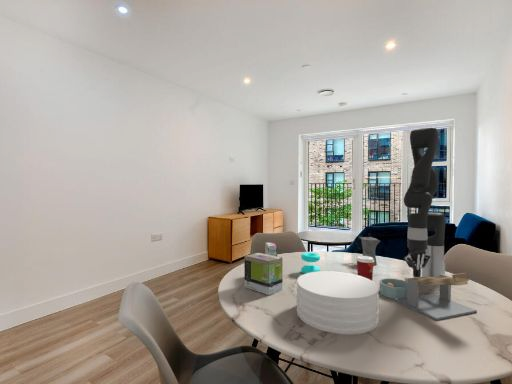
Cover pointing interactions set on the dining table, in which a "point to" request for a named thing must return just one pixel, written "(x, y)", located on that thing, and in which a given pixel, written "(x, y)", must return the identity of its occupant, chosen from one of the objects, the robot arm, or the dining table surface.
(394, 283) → the bowl
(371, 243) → the coffeepot
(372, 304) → the plate stack
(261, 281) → the tea box
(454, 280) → the lever
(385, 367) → the dining table surface
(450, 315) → the stand
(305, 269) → the donuts
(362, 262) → the paper cup
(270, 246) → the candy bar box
